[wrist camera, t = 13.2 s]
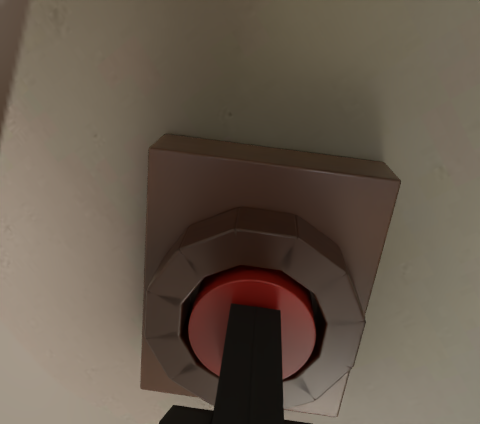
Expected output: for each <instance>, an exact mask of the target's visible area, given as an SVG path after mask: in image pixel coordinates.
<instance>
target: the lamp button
mask: <svg viewBox="0 0 480 424" xmlns="http://www.w3.org/2000/svg"><path fill="white" fill-rule="evenodd" d="M231 303H233V304H240V305H247V306H254V307H262V308H269V309H276V310H281V341H282V374H283V379H285V378H287V377H289V376H291V375H292V374H294V373H295V372H297V371H298V370H299V369H300V368H301V367H302V366H303V365H304V364H305V363H306V362H307V360H308V359H309V357H310V355H311V353H312V351H313V349H314V345H315V340H316V327H315V320H314V313H313V307H312V300H311V294H310V291H309V290H308V289H307V288H305V287H304V286H302V285H301V284H300V283H298V282H297V281H295V280H294V279H292V278H291V277H290V276H288V275H287V274H285V273H284V272H283V271H281V270H274V269H267V268H260V267H252V266H245V265H239V266H236V267H233V268H230V269H228V270H225V271H222V272H219V273H216V274H213V275H210V276H207V277H205V278H204V279H203V280H202V282H201V283H200V286H199V289H198V292H197V295H196V299H195V302H194V305H193V309H192V312H191V315H190V319H189V325H188V334H189V340H190V343H191V346H192V348H193V351H194V353H195V354H196V356H197V357H198V359H199V360H200V361H201V362H202V363H203V365H205V366H206V367H207V368H208V369H209V370H210V371H212V372H213V373H215V374H216V375H218V376H219V375H220V369H221V362H222V356H223V350H224V343H225V337H226V331H227V324H228V318H229V312H230V306H231Z"/></svg>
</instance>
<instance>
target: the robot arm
mask: <svg viewBox="0 0 480 424" xmlns="http://www.w3.org/2000/svg"><path fill="white" fill-rule="evenodd" d="M159 424H311V423H304V422H297V421H290V420H284V408H283V374H282V341H281V310H276V309H269V308H262V307H254V306H247V305H240V304H233V303H231V306H230V312H229V318H228V324H227V331H226V337H225V343H224V350H223V356H222V362H221V369H220V375H219V381H218V387H217V394H216V400H215V406H214V411H211V410H204V409H198V408H191V407H184V406H177V405H173V406H172V407H171V408H170V410H169V411H168V412H167V413H166V414H165V416H164V417H163V418H162V419H161V420H160V422H159Z"/></svg>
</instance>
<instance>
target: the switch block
mask: <svg viewBox="0 0 480 424" xmlns="http://www.w3.org/2000/svg"><path fill="white" fill-rule="evenodd" d="M400 184H401V180H400V179H399V178H398V177H397V176H396V175H395V174H394V173H393V171H392V170H391V169H390V168H389V167H388V166H387V165H386V164H385V163H384V162H378V161H370V160H362V159H355V158H347V157H339V156H332V155H324V154H316V153H309V152H301V151H293V150H286V149H278V148H270V147H263V146H255V145H247V144H240V143H232V142H224V141H217V140H209V139H201V138H194V137H186V136H178V135H171V134H164V135H163V136H162V137H161V138H160V139H159V140H158V141H156V142H155V143H154V144H153V145H152V146H151V147H150V148H149V156H148V185H147V213H146V241H145V269H144V298H143V326H142V354H141V383H140V387H141V389H144V390H151V391H158V392H165V393H172V394H179V395H186V396H193V397H199V398H201V399H203V400H204V401H206V402H207V403H209V404H211V405H214V406H215V400H216V394H217V387H218V381H219V376H218V375H216V374H215V373H213V372H212V371H210V370H209V369H208V368H207V367H206V366H205V365H203V363H202V362H201V361H200V360H199V359H198V357H197V356H196V354H195V353H194V351H193V348H192V346H191V343H190V340H189V334H188V325H189V319H190V315H191V312H192V309H193V305H194V302H195V299H196V295H197V292H198V289H199V286H200V283H201V282H202V280H203V279H204V278H205V277H207V276H210V275H213V274H216V273H219V272H222V271H225V270H228V269H230V268H233V267H236V266H239V265H245V266H252V267H260V268H267V269H274V270H281V271H283V272H284V273H285V274H287V275H288V276H290V277H291V278H292V279H294V280H295V281H297V282H298V283H300V284H301V285H302V286H304V287H305V288H307V289H308V290H309V291H310V294H311V300H312V307H313V313H314V320H315V327H316V340H315V345H314V349H313V351H312V353H311V355H310V357H309V359H308V360H307V362H306V363H305V364H304V365H303V366H302V367H301V368H300V369H299V370H298V371H297V372H295V373H294V374H292V375H291V376H289V377H287V378H285V379H283V408H284V410H290V411H297V412H304V413H310V414H317V415H324V416H331V417H337V416H338V413H339V409H340V406H341V402H342V398H343V395H344V391H345V387H346V383H347V380H348V376H349V372H350V370H351V369H352V367H353V366H354V363H355V360H356V356H357V352H358V349H359V345H360V341H361V338H362V334H363V330H364V327H365V323H366V321H365V313H366V310H367V306H368V302H369V299H370V295H371V291H372V287H373V284H374V280H375V276H376V273H377V269H378V265H379V262H380V258H381V254H382V251H383V247H384V243H385V239H386V236H387V232H388V228H389V225H390V221H391V217H392V214H393V210H394V206H395V203H396V199H397V195H398V191H399V188H400Z"/></svg>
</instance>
